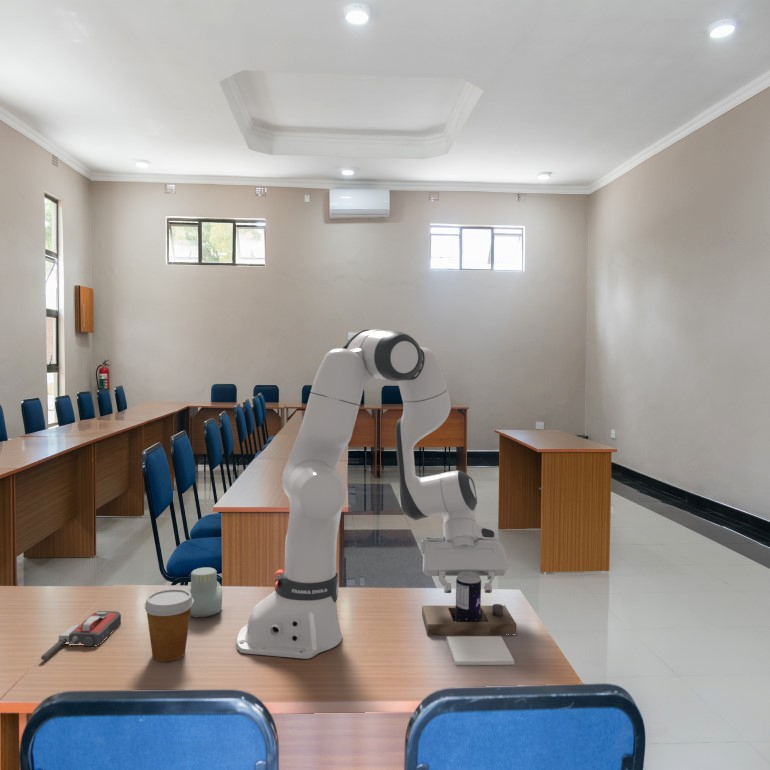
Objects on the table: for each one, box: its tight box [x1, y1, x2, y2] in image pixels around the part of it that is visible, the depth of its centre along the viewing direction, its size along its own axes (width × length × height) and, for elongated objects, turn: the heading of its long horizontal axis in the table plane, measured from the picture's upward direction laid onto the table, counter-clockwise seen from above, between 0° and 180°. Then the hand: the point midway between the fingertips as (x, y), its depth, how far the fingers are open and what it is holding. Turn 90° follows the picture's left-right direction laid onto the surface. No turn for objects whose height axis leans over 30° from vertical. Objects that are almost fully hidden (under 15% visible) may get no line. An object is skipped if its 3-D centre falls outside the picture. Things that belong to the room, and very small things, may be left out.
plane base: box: [421, 603, 517, 636], centre depth 142 cm, size 20×10×4 cm, turn 93°
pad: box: [446, 635, 515, 666], centre depth 129 cm, size 12×11×1 cm
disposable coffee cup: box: [143, 588, 194, 663], centre depth 125 cm, size 10×10×12 cm
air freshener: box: [186, 566, 223, 618], centre depth 146 cm, size 11×8×10 cm
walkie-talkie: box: [40, 610, 122, 661], centre depth 131 cm, size 9×4×20 cm
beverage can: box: [454, 571, 482, 622], centre depth 142 cm, size 6×6×12 cm
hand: (468, 592), depth 142 cm, fingers open, 8 cm apart
